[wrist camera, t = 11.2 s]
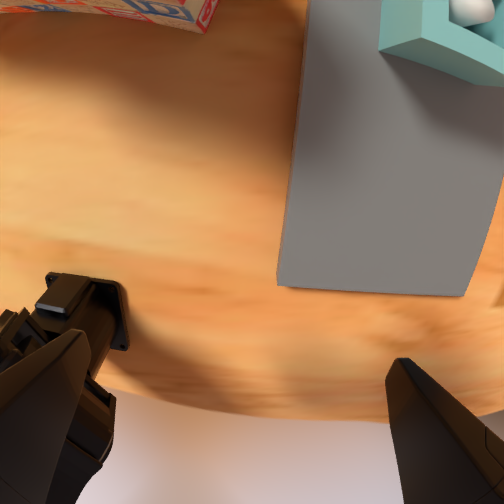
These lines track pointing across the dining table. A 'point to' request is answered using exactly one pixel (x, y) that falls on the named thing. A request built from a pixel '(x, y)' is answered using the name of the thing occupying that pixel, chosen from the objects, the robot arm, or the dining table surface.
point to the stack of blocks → (129, 10)
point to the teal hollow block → (444, 40)
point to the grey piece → (387, 161)
